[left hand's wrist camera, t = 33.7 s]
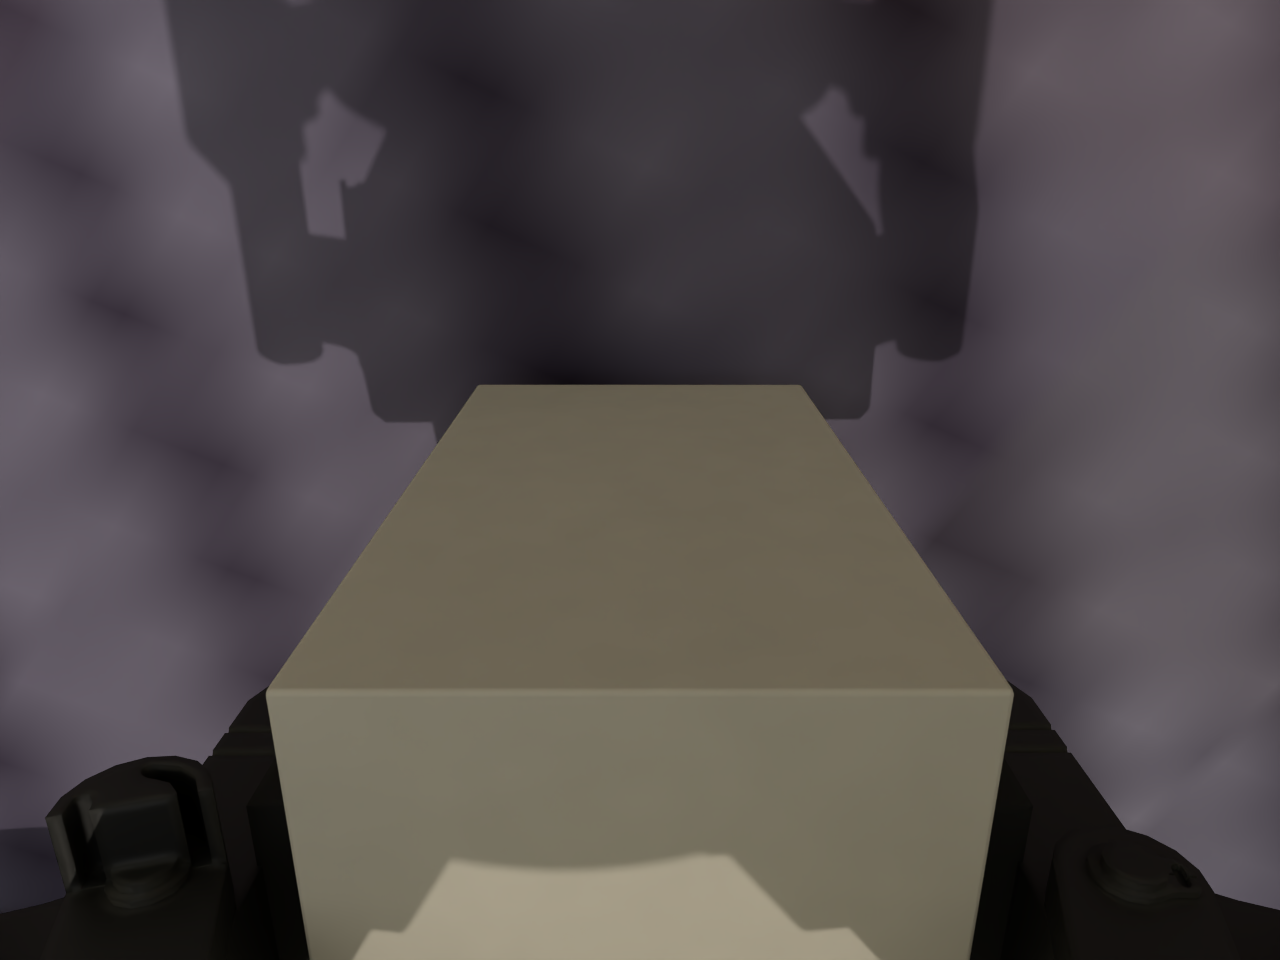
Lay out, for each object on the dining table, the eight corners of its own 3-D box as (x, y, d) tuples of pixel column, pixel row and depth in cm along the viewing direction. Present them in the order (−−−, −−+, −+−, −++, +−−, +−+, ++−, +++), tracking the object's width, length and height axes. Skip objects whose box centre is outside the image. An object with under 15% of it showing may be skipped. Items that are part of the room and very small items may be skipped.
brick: (801, 384, 15) (1017, 692, 7) (782, 687, 17) (927, 1228, 9) (477, 384, 15) (262, 692, 7) (496, 687, 17) (352, 1229, 9)
